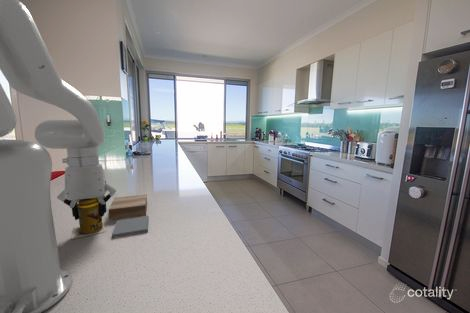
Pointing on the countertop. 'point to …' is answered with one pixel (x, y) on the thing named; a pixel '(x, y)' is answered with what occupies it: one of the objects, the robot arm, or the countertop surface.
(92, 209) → the condiment
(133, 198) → the block
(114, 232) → the coaster
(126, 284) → the countertop surface
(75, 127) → the robot arm
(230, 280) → the countertop surface
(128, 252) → the countertop surface
